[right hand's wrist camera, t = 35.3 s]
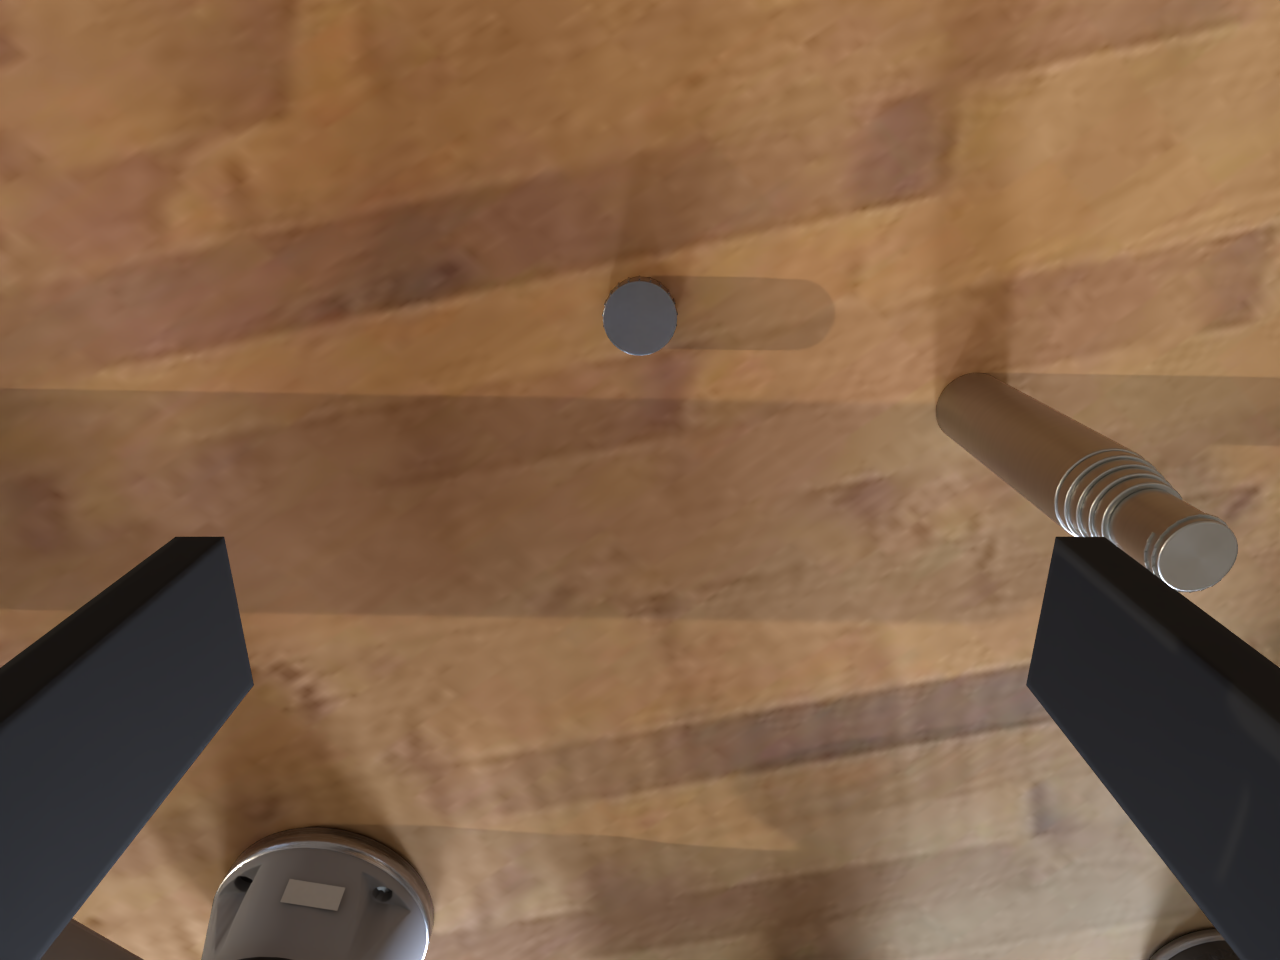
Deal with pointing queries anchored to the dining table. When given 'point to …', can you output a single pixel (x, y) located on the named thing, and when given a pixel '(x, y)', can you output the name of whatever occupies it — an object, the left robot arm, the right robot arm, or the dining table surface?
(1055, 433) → the bottle
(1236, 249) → the dining table surface
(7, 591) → the dining table surface
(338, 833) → the right robot arm
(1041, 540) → the dining table surface
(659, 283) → the cap
